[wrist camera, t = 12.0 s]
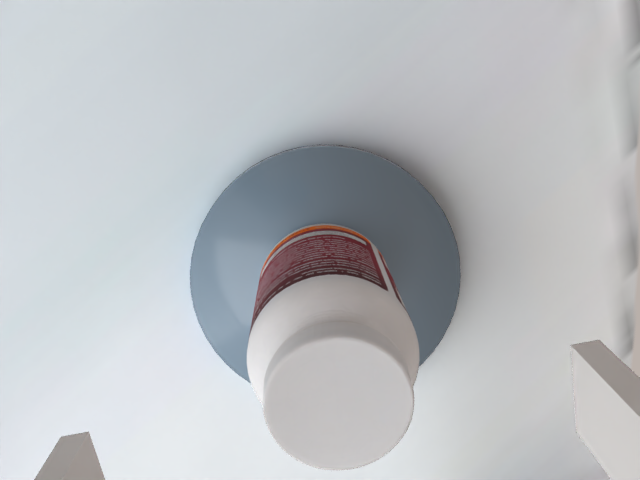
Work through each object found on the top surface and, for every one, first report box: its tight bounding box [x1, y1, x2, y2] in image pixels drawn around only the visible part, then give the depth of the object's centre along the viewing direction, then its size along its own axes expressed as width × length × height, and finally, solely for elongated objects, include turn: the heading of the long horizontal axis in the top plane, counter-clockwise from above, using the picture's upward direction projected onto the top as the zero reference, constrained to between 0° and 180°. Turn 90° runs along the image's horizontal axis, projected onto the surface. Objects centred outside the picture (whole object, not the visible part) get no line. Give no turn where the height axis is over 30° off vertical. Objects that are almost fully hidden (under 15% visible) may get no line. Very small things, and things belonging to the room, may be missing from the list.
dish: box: [190, 145, 460, 383], centre depth 29 cm, size 13×13×1 cm
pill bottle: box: [247, 224, 419, 470], centre depth 24 cm, size 6×6×11 cm
